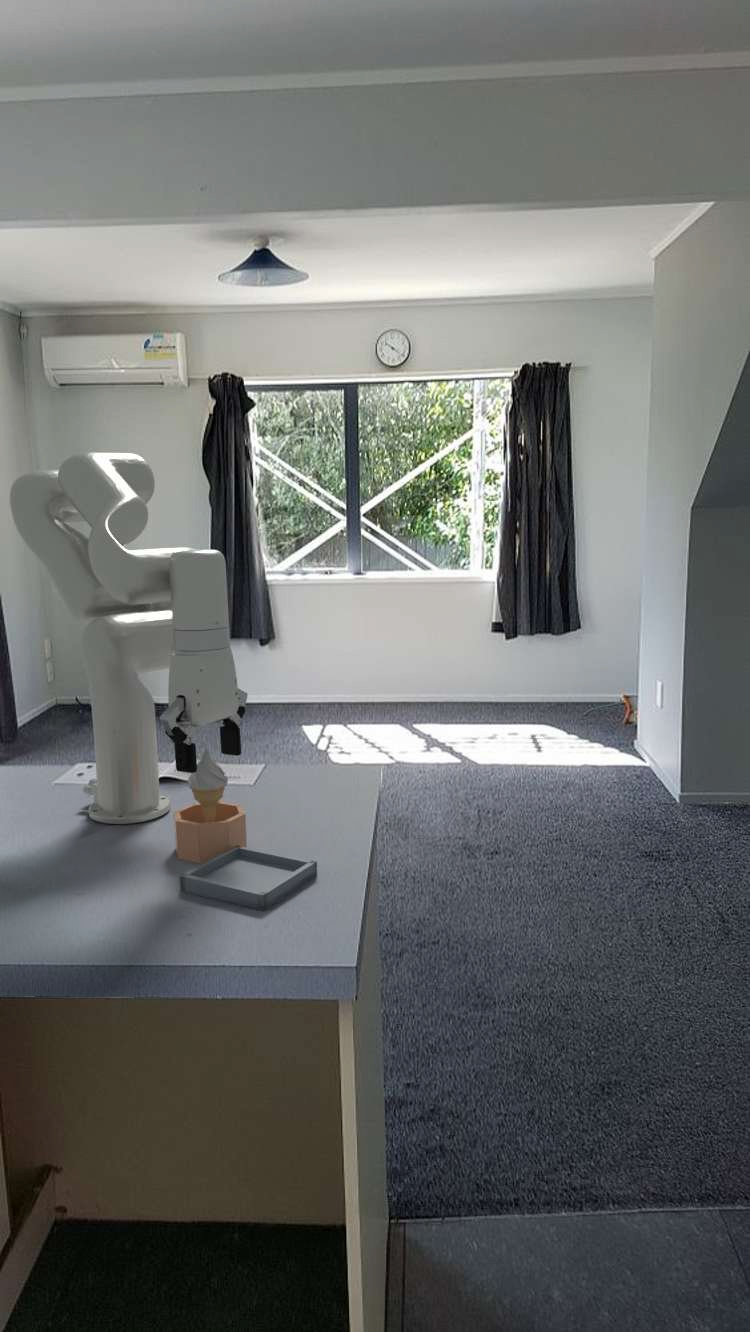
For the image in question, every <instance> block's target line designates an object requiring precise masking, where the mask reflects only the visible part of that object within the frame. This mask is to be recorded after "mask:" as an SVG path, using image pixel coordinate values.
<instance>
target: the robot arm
mask: <svg viewBox="0 0 750 1332" xmlns="http://www.w3.org/2000/svg"><path fill="white" fill-rule="evenodd" d="M150 466H151V465H149V463H148V462H147V461H146V460H145V459H144V458H143V457H142V456H140V455H138V454H135V453H132V452H131V453H130V452H104V451H103V452H96V451H89V452H80V453H78V452H77V453H75V454H73V455H71V456H69V457H67V458H66V459H65V460H64V461H63V462H62V463H61V465H60V467H59V469H42V470H35V471H30V472H27V473H25V474H22V475H21V476H18V477H17V478H16V479H15V480H14V481H13V484H12V485H11V488H10V491H9V506H10V511H11V515H12V520H13V521H14V525H15V527H16V530H17V532H18V534H19V535H20V537H21V539H22V540H23V541H24V543H25V544H26V545H27V547H28V548H29V549H30V550H31V552H32V553H33V554H34V555H35V556H36V557H37V559H38V560H39V561H40V562H41V564H42V565H43V566H44V568H45V569H46V571H47V573H48V574H49V577H50V579H51V580H52V582H53V584H54V586H55V588H56V589H57V592H58V594H59V596H60V597H61V598H62V599H61V600H62V601H63V603H64V605H65V607H66V608H67V609H68V612H69V613H70V614H71V616H72V617H73V618H74V619H75V621H77V622H78V623H80V624H81V623H82V624H84V625H86V626H85V627H84V628H83V630H82V632H81V634H80V640H79V641H80V642H79V643H80V644H79V645H80V652H81V657H82V660H83V664H84V667H85V671H86V677H87V681H88V688H89V695H90V704H91V714H92V715H91V716H92V718H91V719H92V728H93V729H92V730H93V742H94V743H93V744H94V758H95V760H94V761H95V769H96V771H95V773H96V774H95V775H96V778H91V779H89V781H88V784H87V785H85V786H84V787H83V789H82V792H83V793H84V795H89V796H90V795H92V796H93V802H92V804H91V805H89V806H88V817H89V818H90V819H91V820H94V821H95V822H98V823H102V824H108V825H126V824H138V823H142V822H148V821H150V820H155V819H157V818H159V817H161V816H163V815H165V814H167V813H168V812H169V811H170V809H171V801H170V799H169V798H168V797H166V796H165V795H162V794H160V793H161V792H160V779H159V760H158V759H159V758H158V757H159V756H158V743H157V725H156V723H157V722H156V707H155V702H154V698H153V696H152V694H151V692H150V691H149V689H148V688H147V686H145V684H144V683H143V682H142V681H141V679H140V677H139V675H142V674H146V673H150V672H157V671H163V670H168V686H167V687H168V690H167V691H168V692H167V693H168V699H167V700H168V706H167V707H168V708H166V709H165V711H163V713H162V714H161V715H160V719H159V720H160V722H161V724H162V726H163V728H164V732H165V734H166V735H167V737H169V740H170V743H172V744H174V757H175V758H174V759H175V760H174V761H175V770H176V771H177V772H182V773H189V774H192V773H194V772H196V771H197V764H198V761H197V760H198V759H197V748H196V743H194V742H193V739H194V737H195V735H196V733H197V730H198V728H203V727H206V726H209V725H213V724H215V723H217V722H220V723H221V724H222V725H221V726H219V737H220V750H221V751H220V752H221V754H222V755H227V756H237V757H238V756H241V755H242V742H241V741H242V739H241V727H242V726H243V717H244V715H245V712H246V705H247V704H246V703H247V700H248V692H246V691H244V690H242V689H240V688H238V686H239V685H238V678H237V677H238V676H237V672H236V665H235V660H234V655H233V651H232V648H231V638H230V635H231V634H230V633H231V632H230V621H229V620H230V619H229V603H228V602H229V600H228V585H227V584H228V583H227V565H226V559H225V556H224V554H223V553H222V552H221V551H220V550H217V549H211V548H210V549H205V548H204V549H196V548H192V547H189V546H186V547H185V546H181V547H180V546H178V547H177V546H174V547H157V548H156V547H155V548H138V549H137V548H135V549H126V548H125V546H126V545H128V544H130V543H132V542H133V541H135V540H136V539H137V538H138V537H139V536H140V535H141V534H142V533H143V531H144V530H145V529H146V526H147V525H148V520H149V510H148V509H149V508H148V506H147V504H148V503H149V502H150V500H151V499H152V497H153V495H154V492H155V487H156V486H155V484H156V483H155V476H154V471H153V469H152V467H150ZM75 522H76V523H77V522H78V523H79V522H86V523H87V524H88V525H89V527H90V528H91V530H90V533H89V536H88V537H87V536H85V535H84V534H83V533H81V532H80V531H79V530H77V529H76V528H73V527H72V526H70V525H69V524H67V523H75ZM184 729H187V730H186V731H185V732H184Z"/></svg>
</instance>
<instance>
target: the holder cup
mask: <svg viewBox="0 0 750 1332" xmlns="http://www.w3.org/2000/svg"><path fill="white" fill-rule="evenodd" d="M246 817H247V816H246V812H245V809H244V808H243V805H242V804H239V803H232V802H227V801H221V800H219V801H218V803H217V805H216V822H207V823H205V822H204V816H203V809H202V806H201V804H200V803H199V802H196V803H195V802H194V803H191V804H187V805H186V806H183V807H181V808H180V809H177V810H174V811H173V819H174V820H173V822H174V823H173V824H174V837H175V838H174V839H175V841H174V842H175V851H176V855H177V856H176V857H177V859H178V860H181V861H185V862H186V861H187V862H190V863H195V864H199V865H201V864H203V863H205V862H207V861H208V860H210V859H212V858H214V857H216V856H218V855H220V854H222V853H224V852H225V851H227V850H229V849H231V848H233V847H235V846H237V845H239V846H244V847H248V846H247V845H248V843H247V821H246Z"/></svg>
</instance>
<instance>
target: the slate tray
mask: <svg viewBox="0 0 750 1332" xmlns="http://www.w3.org/2000/svg"><path fill="white" fill-rule="evenodd" d="M317 877H318V862H317V861H315V860H310V859H306V858H301V857H297V856H291V855H287V854H282V853H277V852H272V851H267V850H263V849H257V848H252V847H248V846H247V847H244V846H239V845H237V846H235V847H233V848H231V849H229V850H227V851H225V852H224V853H222V854H220V855H218V856H216V857H214V858H212V859H210V860H208V861H207V862H205V863H202V864H201V863H200V864H199V865H197V866H195V867H194V868H191V869H189V870H188V871H186V872H183V873H182V874H180V875H179V884H180V885H179V887H180V888H179V889H180V891H181V892H184V893H190V894H193V895H197V896H201V897H204V898H210V899H213V900H217V901H221V902H226V903H230V904H234V905H237V906H241V907H242V906H243V907H246V908H250V909H253V910H254V909H255V910H259V911H261V912H264V911H266V910H267V909H269V908H271V907H272V906H274V905H275V904H276V903H278V902H280V901H282V900H283V899H284V898H286V897H287V896H289V895H291V894H292V893H293V892H296V891H297V890H298V889H299V888H301V887H302V886H304V885H305V884H307V883H309V882H310V881H312V880H313V879H315V878H317Z"/></svg>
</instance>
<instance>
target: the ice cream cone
mask: <svg viewBox="0 0 750 1332" xmlns="http://www.w3.org/2000/svg"><path fill="white" fill-rule="evenodd" d="M186 781H187V784H188V787H189V789H190V790H191V791H192V792H191V793H192V794H193V798H194V800H195V801H197V803H200V804H201V806H202V809H203V816H204V822H205V823H207V822H216V805H217V803H218V801H221V799H222V798H223V797H224V795H223V794H224V792H225V788H226V786H228V781H229V777H228V776H226V773H225V772H224V770H223V769H222V768H221V766H220V765H219V764H218V763H217V762H216V760H215V759H214V758H213V757H212V755H211V753H210V751H209V750H208V748H207V747H205V749H204V752H203V754H202V756H201V758H200V760H199V761H198V762H197V771H196V772H194V773H190V775H189V777H188V778H187V780H186Z"/></svg>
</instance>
